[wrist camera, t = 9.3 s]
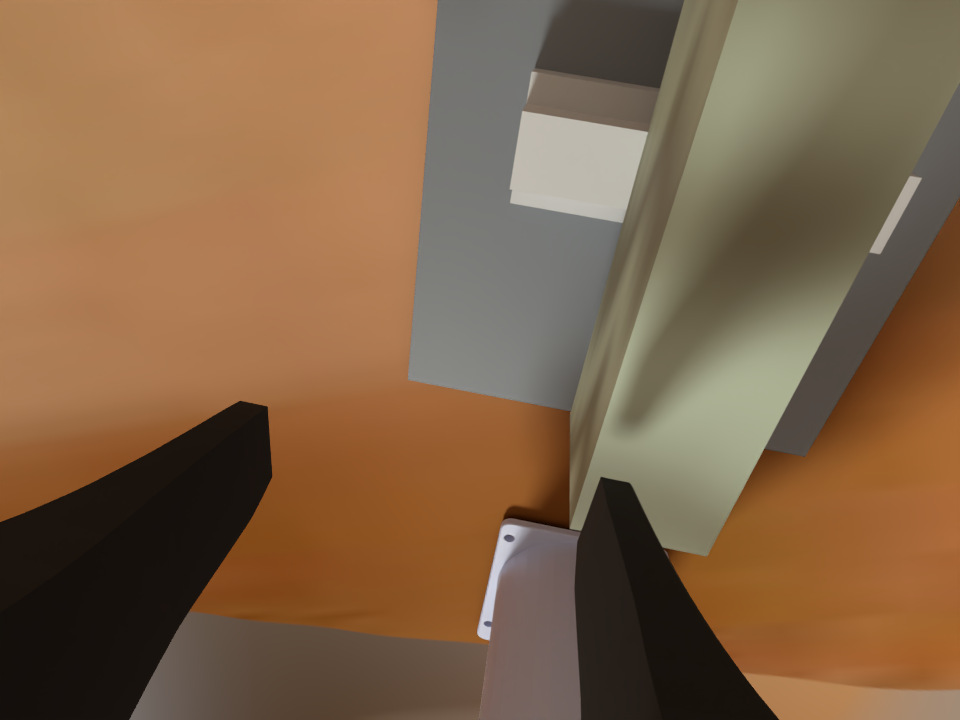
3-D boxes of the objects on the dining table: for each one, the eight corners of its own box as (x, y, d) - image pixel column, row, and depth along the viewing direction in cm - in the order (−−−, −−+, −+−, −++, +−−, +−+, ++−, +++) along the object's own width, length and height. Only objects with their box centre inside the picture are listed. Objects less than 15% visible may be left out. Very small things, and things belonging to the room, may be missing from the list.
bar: (676, 435, 19) (706, 556, 14) (570, 414, 19) (569, 528, 15) (953, -235, 10) (1227, -419, 6) (756, -261, 10) (883, -457, 6)
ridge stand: (799, 446, 22) (834, 511, 19) (411, 372, 23) (387, 423, 20) (1214, -268, 12) (1432, -366, 9) (472, -363, 12) (441, -482, 10)
